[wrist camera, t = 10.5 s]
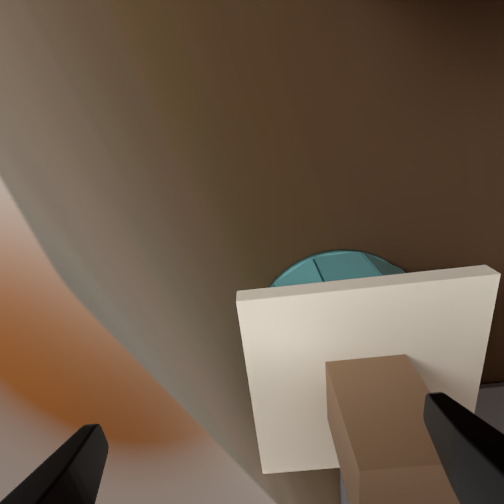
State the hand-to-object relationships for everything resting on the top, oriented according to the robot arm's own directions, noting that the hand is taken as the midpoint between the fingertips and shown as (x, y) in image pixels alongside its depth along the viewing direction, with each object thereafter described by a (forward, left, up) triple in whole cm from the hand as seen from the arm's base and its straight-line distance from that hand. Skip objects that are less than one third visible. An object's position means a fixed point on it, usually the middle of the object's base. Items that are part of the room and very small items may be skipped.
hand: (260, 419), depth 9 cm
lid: (-5, +6, -8) cm, 11 cm away
